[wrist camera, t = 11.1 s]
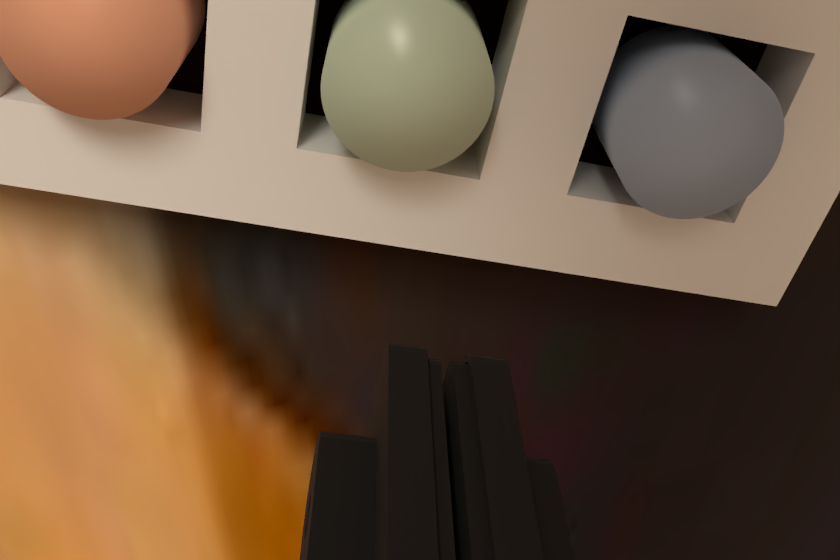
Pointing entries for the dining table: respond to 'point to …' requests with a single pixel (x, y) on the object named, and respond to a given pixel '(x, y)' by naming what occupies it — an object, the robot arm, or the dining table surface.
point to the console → (478, 165)
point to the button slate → (687, 123)
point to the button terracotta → (98, 50)
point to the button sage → (407, 81)
